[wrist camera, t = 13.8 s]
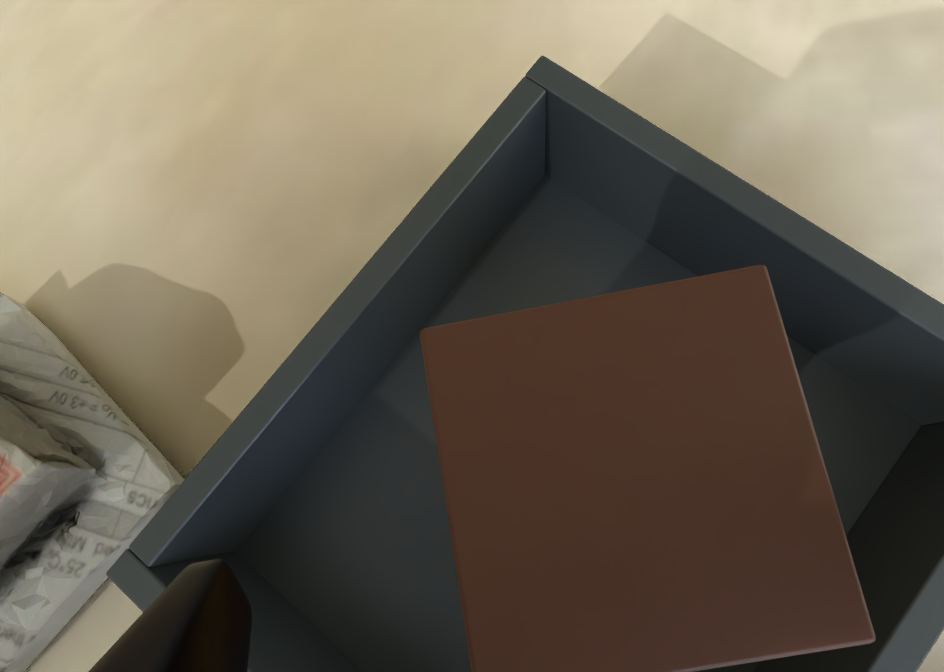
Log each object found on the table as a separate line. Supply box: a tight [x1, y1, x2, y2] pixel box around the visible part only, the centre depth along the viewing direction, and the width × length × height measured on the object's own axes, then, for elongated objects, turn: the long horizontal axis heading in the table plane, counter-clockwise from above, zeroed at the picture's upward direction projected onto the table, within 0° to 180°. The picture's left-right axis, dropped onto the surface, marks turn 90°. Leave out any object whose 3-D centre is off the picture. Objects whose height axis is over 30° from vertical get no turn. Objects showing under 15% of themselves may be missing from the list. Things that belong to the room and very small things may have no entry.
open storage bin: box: [106, 56, 944, 672], centre depth 18 cm, size 18×16×6 cm
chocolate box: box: [420, 265, 876, 672], centre depth 14 cm, size 5×5×13 cm
